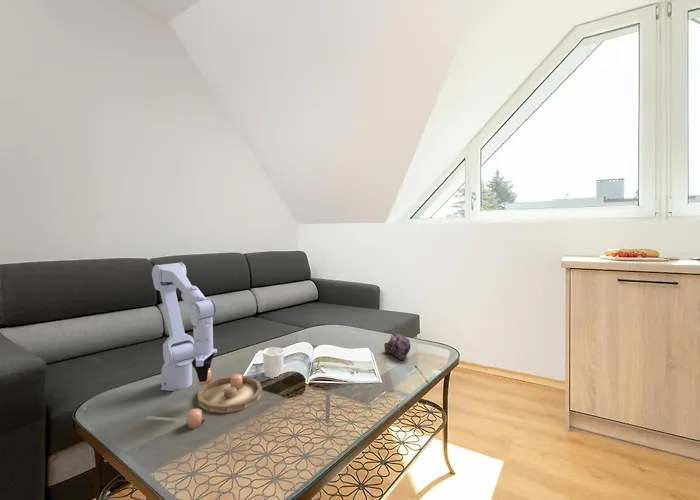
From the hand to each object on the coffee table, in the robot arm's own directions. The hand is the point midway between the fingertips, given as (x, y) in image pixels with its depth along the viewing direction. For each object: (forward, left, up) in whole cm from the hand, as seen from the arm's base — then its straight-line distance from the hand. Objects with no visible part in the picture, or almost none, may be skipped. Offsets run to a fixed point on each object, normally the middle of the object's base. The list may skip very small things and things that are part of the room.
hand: (204, 377), depth 122 cm
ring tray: (+6, +5, -9) cm, 13 cm away
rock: (+65, +49, -10) cm, 82 cm away
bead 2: (0, 0, -2) cm, 2 cm away
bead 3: (+6, +11, -9) cm, 15 cm away
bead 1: (+2, -11, -9) cm, 14 cm away
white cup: (+16, +22, -10) cm, 29 cm away
